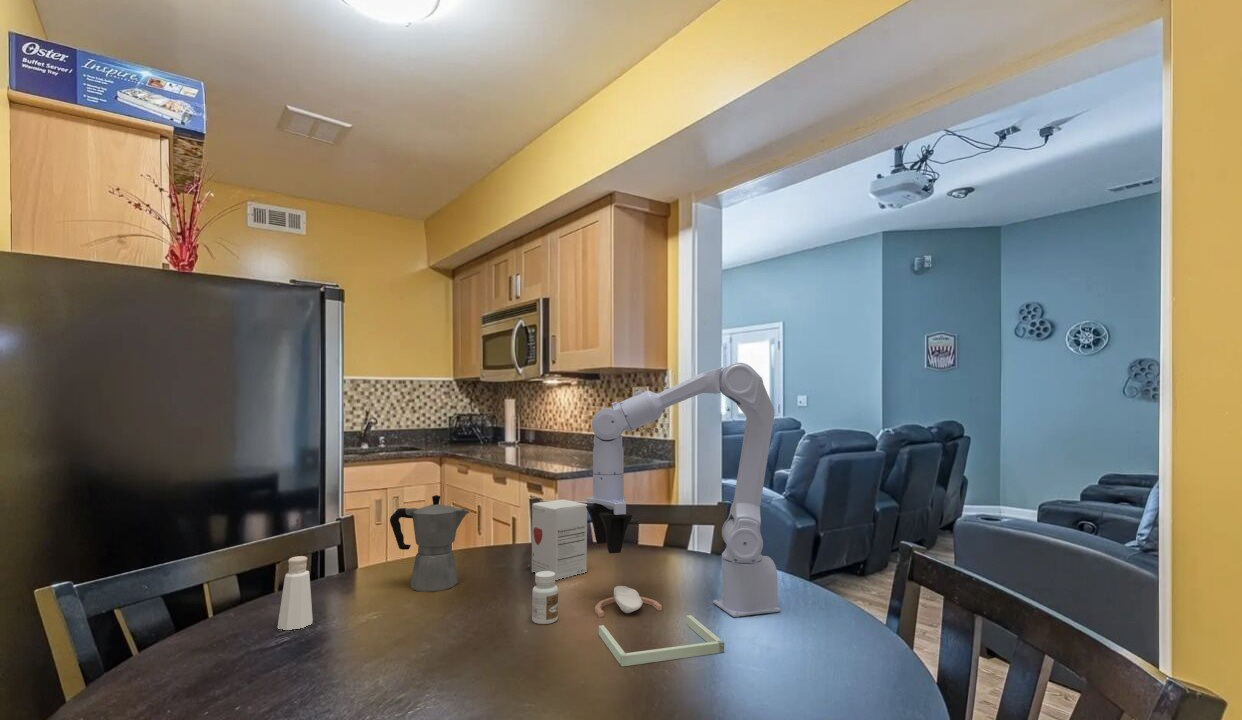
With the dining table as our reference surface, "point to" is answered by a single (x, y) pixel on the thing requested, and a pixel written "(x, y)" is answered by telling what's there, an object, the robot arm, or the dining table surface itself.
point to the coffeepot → (431, 544)
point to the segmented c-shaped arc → (612, 599)
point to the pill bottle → (545, 598)
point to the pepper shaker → (296, 596)
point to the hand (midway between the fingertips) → (608, 547)
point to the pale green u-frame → (670, 653)
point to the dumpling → (627, 599)
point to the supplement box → (559, 537)
